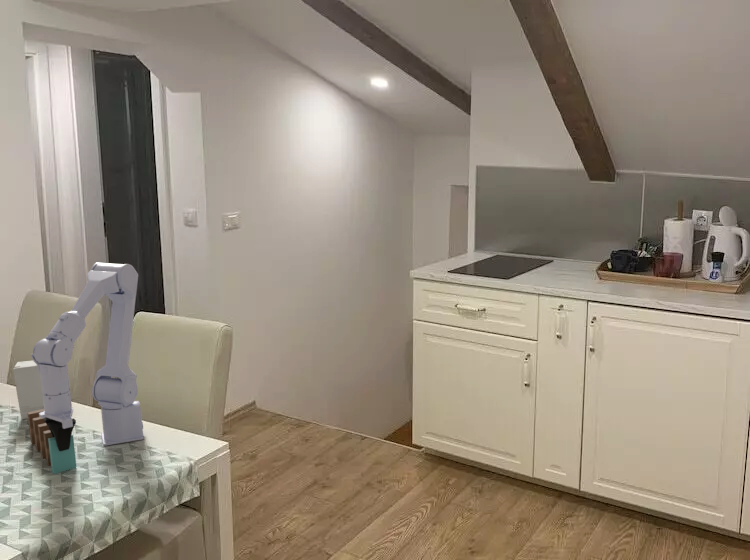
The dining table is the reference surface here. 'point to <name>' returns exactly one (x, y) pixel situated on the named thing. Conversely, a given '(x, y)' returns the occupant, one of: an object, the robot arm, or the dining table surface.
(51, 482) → the dining table surface
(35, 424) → the walnut domino
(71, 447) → the teal domino
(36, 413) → the walnut domino
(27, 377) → the skincare box
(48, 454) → the walnut domino
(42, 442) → the walnut domino
